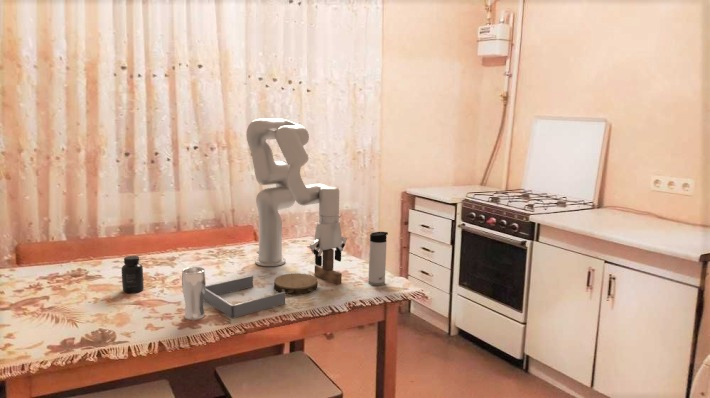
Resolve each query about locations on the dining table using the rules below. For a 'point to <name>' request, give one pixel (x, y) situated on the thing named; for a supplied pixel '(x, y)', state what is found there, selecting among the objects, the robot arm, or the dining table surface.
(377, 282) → the travel mug
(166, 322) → the dining table surface
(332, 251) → the wooden t-shaped block
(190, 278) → the beer glass
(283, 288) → the wood log slice
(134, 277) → the supplement bottle
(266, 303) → the box
